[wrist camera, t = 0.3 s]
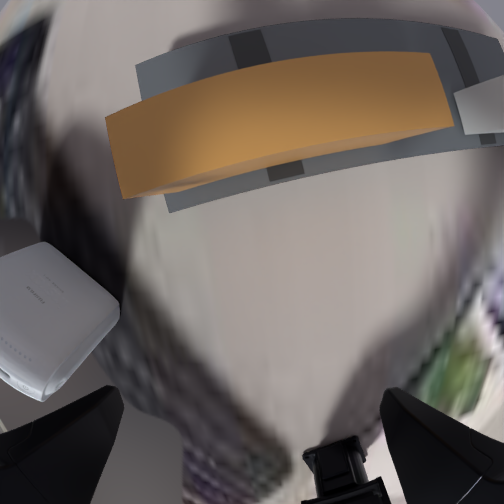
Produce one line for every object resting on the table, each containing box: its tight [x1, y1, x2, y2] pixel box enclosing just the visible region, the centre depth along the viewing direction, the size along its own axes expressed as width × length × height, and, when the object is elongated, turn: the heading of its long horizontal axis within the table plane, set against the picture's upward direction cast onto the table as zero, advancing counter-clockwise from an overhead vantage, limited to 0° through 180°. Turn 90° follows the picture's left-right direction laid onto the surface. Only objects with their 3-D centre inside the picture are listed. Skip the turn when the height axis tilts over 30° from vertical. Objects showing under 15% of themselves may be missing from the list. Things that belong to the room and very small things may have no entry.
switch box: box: [135, 18, 504, 213], centre depth 16 cm, size 10×30×4 cm, turn 105°
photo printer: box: [0, 242, 120, 402], centre depth 16 cm, size 10×4×12 cm, turn 54°
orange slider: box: [105, 51, 454, 199], centre depth 11 cm, size 3×12×7 cm, turn 105°
